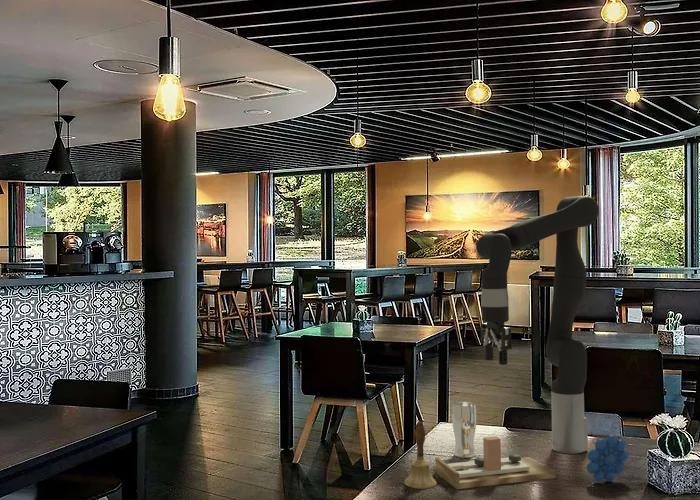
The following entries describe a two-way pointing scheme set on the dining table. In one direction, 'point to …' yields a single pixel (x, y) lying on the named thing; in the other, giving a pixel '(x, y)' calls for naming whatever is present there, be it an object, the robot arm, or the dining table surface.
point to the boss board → (534, 473)
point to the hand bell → (420, 464)
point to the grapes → (607, 458)
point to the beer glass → (464, 428)
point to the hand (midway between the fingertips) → (495, 362)
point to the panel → (482, 471)
